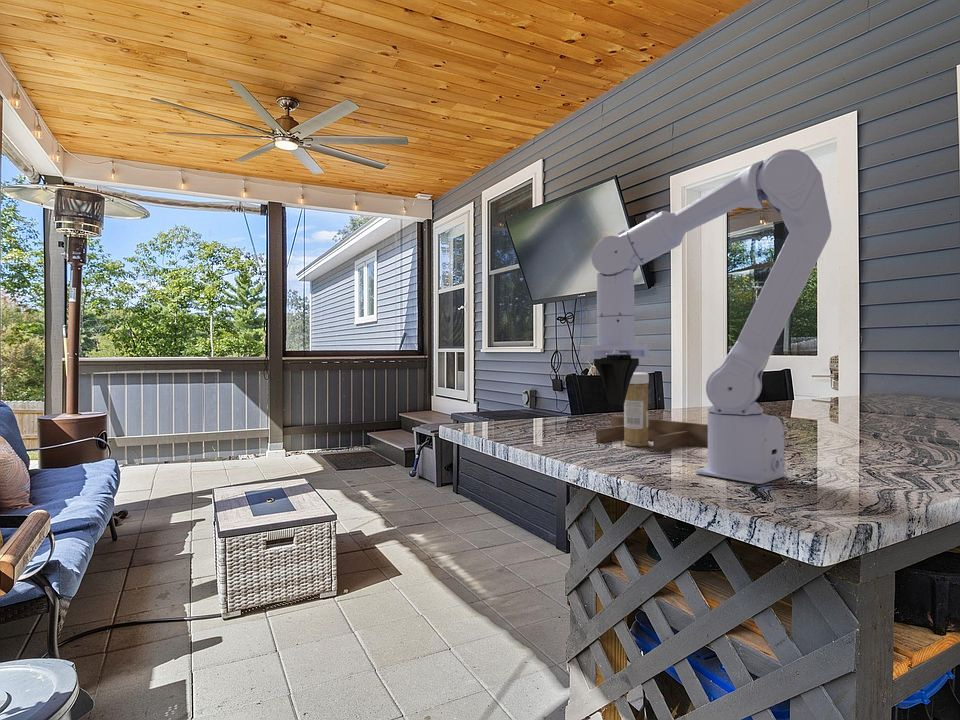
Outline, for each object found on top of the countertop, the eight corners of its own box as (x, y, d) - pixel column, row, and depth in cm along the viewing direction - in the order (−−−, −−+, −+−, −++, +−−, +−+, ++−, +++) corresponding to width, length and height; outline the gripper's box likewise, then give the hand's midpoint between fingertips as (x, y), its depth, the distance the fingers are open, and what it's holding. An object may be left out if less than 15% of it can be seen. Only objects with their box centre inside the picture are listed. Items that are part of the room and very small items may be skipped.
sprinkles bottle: (653, 444, 109) (653, 372, 108) (639, 448, 106) (639, 373, 105) (632, 441, 112) (632, 371, 112) (618, 444, 109) (618, 372, 109)
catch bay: (712, 447, 106) (712, 424, 106) (678, 454, 99) (678, 430, 99) (614, 434, 123) (614, 415, 123) (579, 439, 116) (579, 419, 116)
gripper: (623, 319, 99) (624, 399, 99) (564, 317, 90) (565, 405, 90) (659, 317, 93) (660, 402, 94) (601, 314, 84) (601, 408, 85)
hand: (616, 404), depth 91 cm, fingers closed
